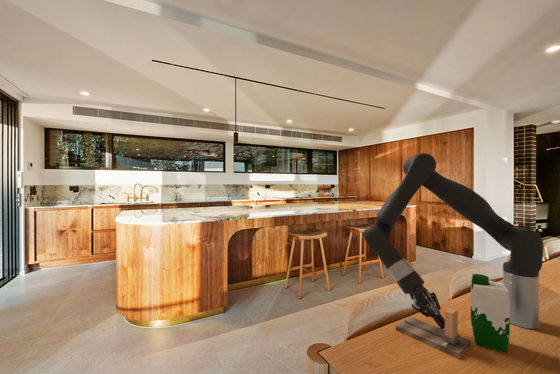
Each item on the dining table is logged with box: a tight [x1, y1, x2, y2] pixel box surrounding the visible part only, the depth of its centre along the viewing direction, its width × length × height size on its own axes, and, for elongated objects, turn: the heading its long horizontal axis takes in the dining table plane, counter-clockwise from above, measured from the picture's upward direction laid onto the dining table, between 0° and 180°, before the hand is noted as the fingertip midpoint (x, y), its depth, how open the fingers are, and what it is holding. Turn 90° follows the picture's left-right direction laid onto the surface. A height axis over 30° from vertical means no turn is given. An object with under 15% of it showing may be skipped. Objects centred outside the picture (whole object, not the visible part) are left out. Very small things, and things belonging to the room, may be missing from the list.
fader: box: [442, 307, 461, 344], centre depth 76 cm, size 3×5×8 cm, turn 127°
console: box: [395, 316, 472, 359], centre depth 81 cm, size 18×10×2 cm, turn 37°
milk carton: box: [470, 273, 511, 354], centre depth 78 cm, size 9×9×20 cm
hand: (445, 327), depth 78 cm, fingers closed
